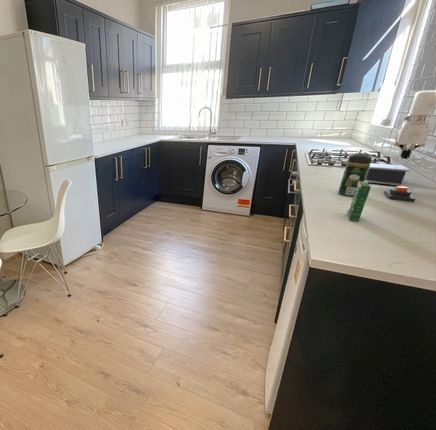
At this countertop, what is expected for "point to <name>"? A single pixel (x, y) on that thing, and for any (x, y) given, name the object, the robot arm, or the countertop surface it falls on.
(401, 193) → the control block
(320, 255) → the countertop surface
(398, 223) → the countertop surface
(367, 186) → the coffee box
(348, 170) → the coffee jar
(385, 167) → the lid
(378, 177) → the chest
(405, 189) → the button
